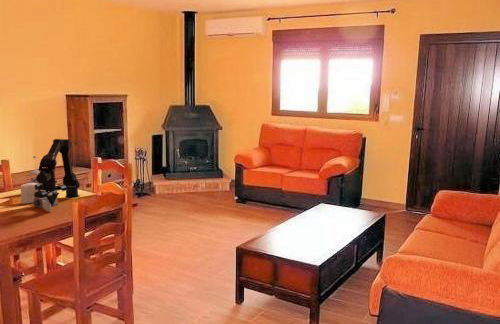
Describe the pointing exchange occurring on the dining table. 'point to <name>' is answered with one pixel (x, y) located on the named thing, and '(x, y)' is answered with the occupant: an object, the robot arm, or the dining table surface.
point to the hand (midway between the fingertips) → (52, 205)
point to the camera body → (38, 202)
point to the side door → (46, 205)
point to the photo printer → (28, 193)
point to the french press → (33, 180)
